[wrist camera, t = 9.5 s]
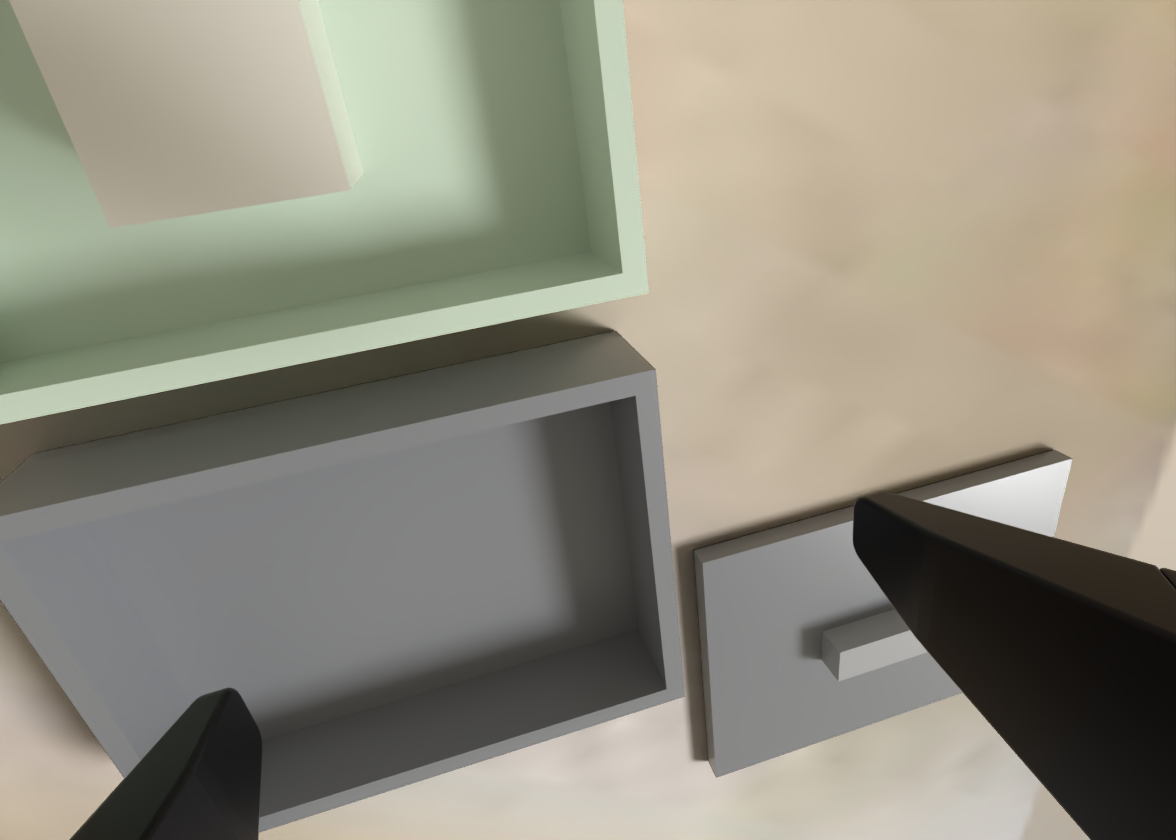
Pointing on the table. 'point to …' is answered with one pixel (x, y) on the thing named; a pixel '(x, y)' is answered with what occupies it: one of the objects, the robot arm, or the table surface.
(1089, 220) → the table surface
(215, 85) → the cream block
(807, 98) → the table surface
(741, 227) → the table surface
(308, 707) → the bin
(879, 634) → the bin lid
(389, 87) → the bin
